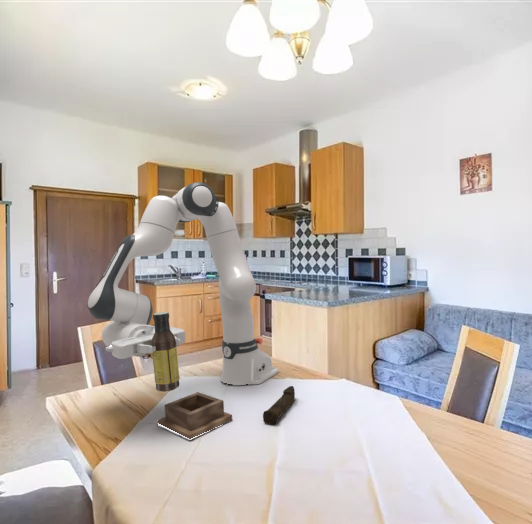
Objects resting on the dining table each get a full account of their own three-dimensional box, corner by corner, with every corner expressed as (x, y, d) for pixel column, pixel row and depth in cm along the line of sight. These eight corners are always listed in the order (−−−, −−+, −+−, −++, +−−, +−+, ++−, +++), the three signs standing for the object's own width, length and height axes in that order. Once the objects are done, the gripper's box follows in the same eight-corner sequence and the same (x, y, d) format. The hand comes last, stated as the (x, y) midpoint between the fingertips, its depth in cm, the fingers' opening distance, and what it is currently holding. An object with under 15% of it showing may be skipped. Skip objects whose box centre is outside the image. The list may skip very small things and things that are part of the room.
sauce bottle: (176, 382, 102) (171, 309, 101) (182, 388, 96) (177, 312, 96) (152, 387, 99) (147, 312, 98) (157, 394, 93) (152, 315, 93)
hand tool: (276, 427, 95) (276, 409, 95) (262, 424, 97) (262, 407, 97) (302, 400, 112) (302, 385, 112) (290, 398, 114) (289, 383, 114)
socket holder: (199, 407, 109) (198, 389, 109) (232, 420, 100) (231, 400, 100) (157, 425, 98) (156, 405, 98) (190, 441, 89) (189, 418, 89)
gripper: (101, 336, 98) (127, 342, 89) (168, 322, 113) (196, 326, 104) (103, 360, 98) (129, 369, 89) (169, 343, 113) (197, 349, 104)
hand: (166, 346), depth 96 cm, fingers closed on sauce bottle, 6 cm apart
